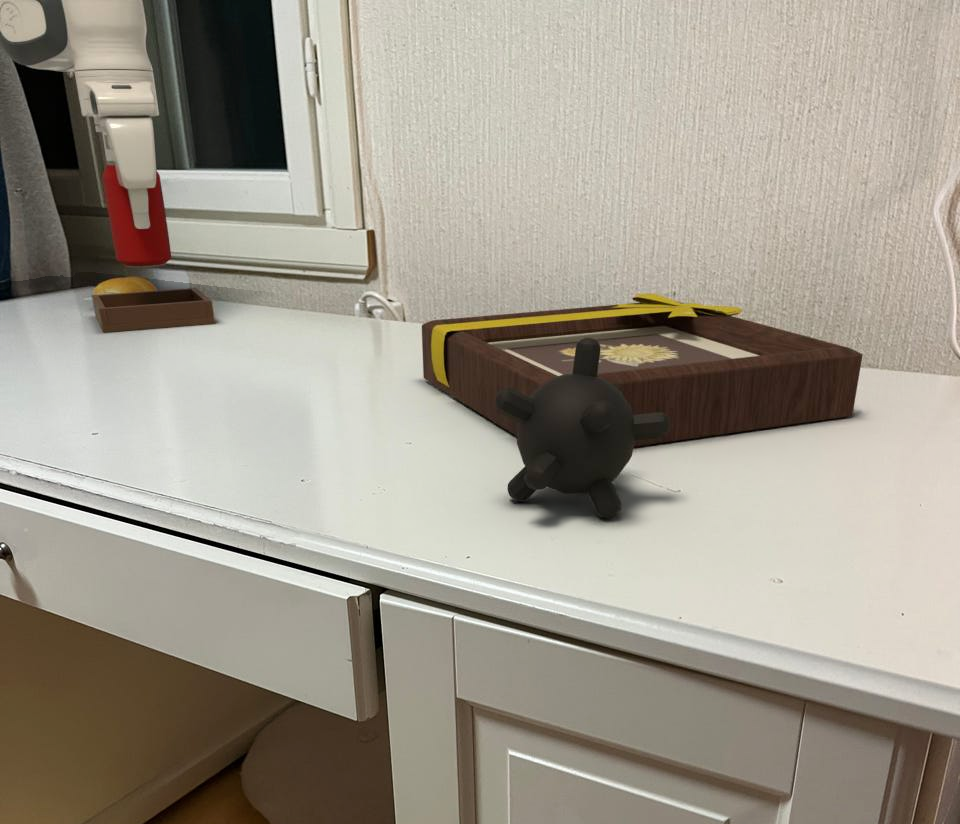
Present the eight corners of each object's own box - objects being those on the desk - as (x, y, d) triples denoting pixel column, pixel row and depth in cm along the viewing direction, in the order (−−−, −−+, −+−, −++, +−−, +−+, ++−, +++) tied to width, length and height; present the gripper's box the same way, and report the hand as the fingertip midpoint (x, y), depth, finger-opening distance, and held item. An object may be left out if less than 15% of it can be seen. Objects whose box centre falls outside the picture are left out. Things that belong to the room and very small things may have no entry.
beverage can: (182, 262, 128) (167, 159, 122) (157, 269, 122) (140, 161, 117) (134, 261, 129) (117, 160, 124) (107, 268, 123) (88, 161, 118)
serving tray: (103, 332, 121) (98, 309, 120) (95, 316, 131) (91, 294, 130) (215, 323, 126) (211, 300, 125) (199, 309, 136) (196, 287, 135)
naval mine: (428, 464, 63) (519, 378, 70) (544, 581, 64) (621, 485, 71) (516, 367, 54) (609, 281, 62) (647, 505, 56) (723, 404, 63)
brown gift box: (415, 310, 93) (686, 288, 103) (418, 381, 96) (680, 353, 106) (546, 372, 70) (879, 336, 80) (544, 462, 73) (865, 416, 83)
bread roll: (169, 301, 142) (164, 272, 141) (137, 312, 135) (132, 281, 133) (117, 300, 144) (112, 271, 142) (83, 310, 136) (77, 279, 134)
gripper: (84, 102, 124) (105, 220, 131) (97, 97, 108) (120, 233, 114) (136, 102, 127) (154, 218, 133) (156, 97, 110) (175, 231, 116)
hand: (138, 225), depth 123 cm, fingers closed on beverage can, 7 cm apart
